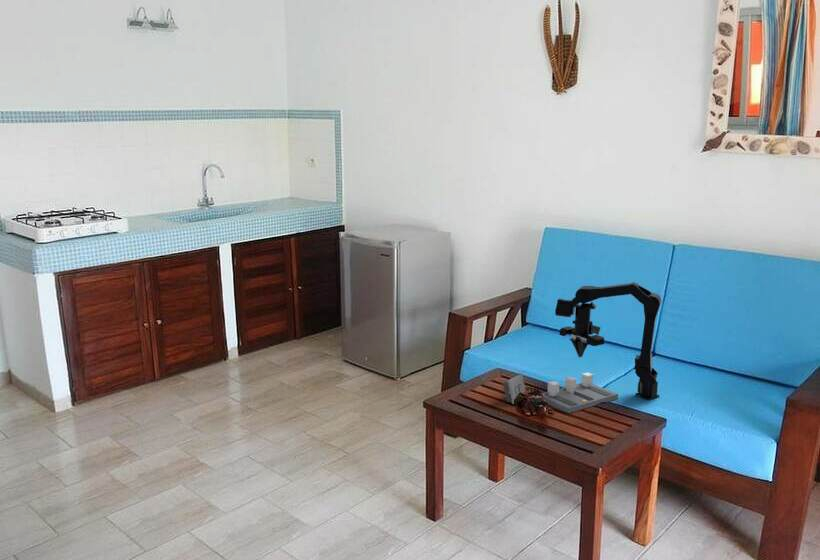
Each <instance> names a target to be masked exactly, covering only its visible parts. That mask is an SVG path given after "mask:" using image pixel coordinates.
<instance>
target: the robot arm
mask: <svg viewBox="0 0 820 560" xmlns="http://www.w3.org/2000/svg"><path fill="white" fill-rule="evenodd" d="M628 295H631V296H633V297H634V298H635V299H636V300H637V301H638V302H639V303H641V305H642V306H643V314H644V315H643V316H644V323H643V324H644V325H643V332H642V341H641V349H640V355H639V354H636V356H635V357H634V367H633V370H634V372H635V375H636V376H637V377H638V378H639V379H638V383H637V392H636V393H635V396H638V397H640V398H643V399H645V400H649V401H650V400H652V399H657V398H659V397H660V394H658V385H659V382H658V381H657V377H658V374H659V373H658V372H657V370H655V368H654V367H653V355H652V349H653V341H654V334H655V326H656V318H657V316H658V312H659V309H660V306H661V303H662V297H661V296H660V295H659V294H658V293H656V292H652V291H650V290H649V289H647V288H645V287H643V286H641V285H639V283H637V282H631V283H630V282H629V283H621V284H615V285H607V286H606V285H605V286H594V285H582V286H581V287H579V288H578V289H577V290H576V292H575V295H574V297H573V298H572V299H571V300H570V299H563V298H558V299H557V301H556V302H557V303H556V306H555V308H554V309H555V316H556V317H563V318H572V316H574V315H575V316H574V320H572V324H574V327H573V326H565V327H561V328H560V329H559V334H558V335H560V336H562V337H566V336H567V335H570V338H569V341H570V342H571V344H572V345H573V347H574V350H575V351H576V354H577V356H578V358H582V357H583V356H584V353H585V351H586V349H587V347H588V345H589V346H591V347H598V346H601V345H605V338H604V337H603V336H602V335H599V334H600V331H601V327H600V326H596V325H594V324H593V321H592V320H591V311H592V310H595V309H596V308H597V305H596V304H595V303H594V302H593V301H596V300H598V299H601V298H610V297H617V296H618V297H619V296H628ZM594 334H595V335H594Z"/></svg>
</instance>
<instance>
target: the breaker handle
mask: <svg viewBox="0 0 820 560" xmlns="http://www.w3.org/2000/svg"><path fill="white" fill-rule="evenodd" d="M576 384H577V378H576V377H572V376H568V377H565V378H564V387H566V391H567V392H569V393H572V394H574V388H576Z"/></svg>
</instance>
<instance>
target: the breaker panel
mask: <svg viewBox="0 0 820 560" xmlns="http://www.w3.org/2000/svg"><path fill="white" fill-rule="evenodd" d="M541 394H542V395H543V398H544V399H545V401H546V402H547V403H548V404H547V405H549V406H551V407H553V408H555V409H558V410H560V411H561V412H564V413H566V412H567V413H566V414H568V413H569V414H572V413H571V412H573V413H575V411H576V412H579V411H582V409H583V410H585V408H586V409H589V408H592V406H593V407H596V406H598V405H597V404H599V403H600V402H606V403H609V402H612V401H616V400H619V394H618V393H616V392H614V391H611V390H610V389H606V388H604V387H601V386H599V385H596V384H594V374H593V373H590V372H588V371H587V372H584V373H581V382H579V383H576V388H574V394H572V393H569V392H567V391H566V387H565V386H564V387H561V388H560V383H559V382H558V381H553V380H552V381H549V382H547V392H543V393H541ZM595 405H596V406H595ZM599 405H600V404H599ZM588 407H589V408H588ZM578 410H579V411H578Z"/></svg>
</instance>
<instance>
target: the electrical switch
mask: <svg viewBox="0 0 820 560" xmlns="http://www.w3.org/2000/svg"><path fill="white" fill-rule="evenodd" d="M502 386H503V391H504V395H505V399H506V403H507V402H510V403H511V404H512V405H513V404H514V399H515V397H516V396H517V395H518V394H519V393H520V392H522V391H524V390H526V387H525V386H526V384H525V382H524V376H523V375H522V374H518V375H516V376H513V377H510V378H509V379H507V380H504V381H503V382H502ZM510 403H509V404H510Z"/></svg>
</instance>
